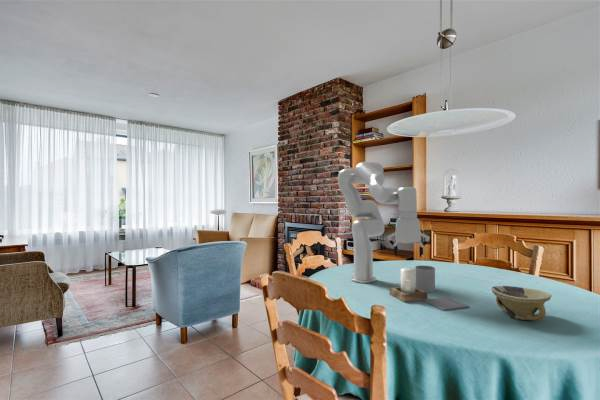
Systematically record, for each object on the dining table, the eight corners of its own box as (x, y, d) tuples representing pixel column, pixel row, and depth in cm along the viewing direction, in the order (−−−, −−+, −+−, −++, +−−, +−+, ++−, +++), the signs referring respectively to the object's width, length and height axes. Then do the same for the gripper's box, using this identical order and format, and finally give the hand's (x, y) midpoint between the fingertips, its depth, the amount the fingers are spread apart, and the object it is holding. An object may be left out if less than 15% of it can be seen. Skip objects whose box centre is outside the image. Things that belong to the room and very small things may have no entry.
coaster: (423, 300, 132) (423, 299, 132) (447, 297, 135) (447, 296, 135) (443, 310, 120) (443, 309, 120) (469, 307, 123) (469, 305, 123)
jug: (401, 294, 140) (400, 267, 140) (415, 295, 138) (415, 268, 138) (400, 300, 133) (400, 271, 133) (415, 301, 131) (415, 272, 131)
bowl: (565, 323, 107) (565, 294, 107) (524, 330, 102) (524, 300, 102) (516, 306, 124) (516, 281, 124) (479, 311, 119) (479, 285, 119)
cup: (436, 292, 143) (436, 269, 143) (417, 291, 145) (417, 269, 145) (432, 286, 151) (432, 265, 151) (414, 286, 153) (414, 265, 153)
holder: (389, 294, 140) (389, 287, 140) (411, 292, 143) (411, 285, 143) (404, 302, 130) (404, 295, 130) (427, 299, 133) (427, 292, 133)
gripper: (385, 216, 135) (386, 256, 135) (429, 216, 130) (430, 258, 130) (387, 215, 143) (388, 253, 142) (429, 215, 137) (429, 255, 137)
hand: (408, 256), depth 136 cm, fingers open, 9 cm apart
